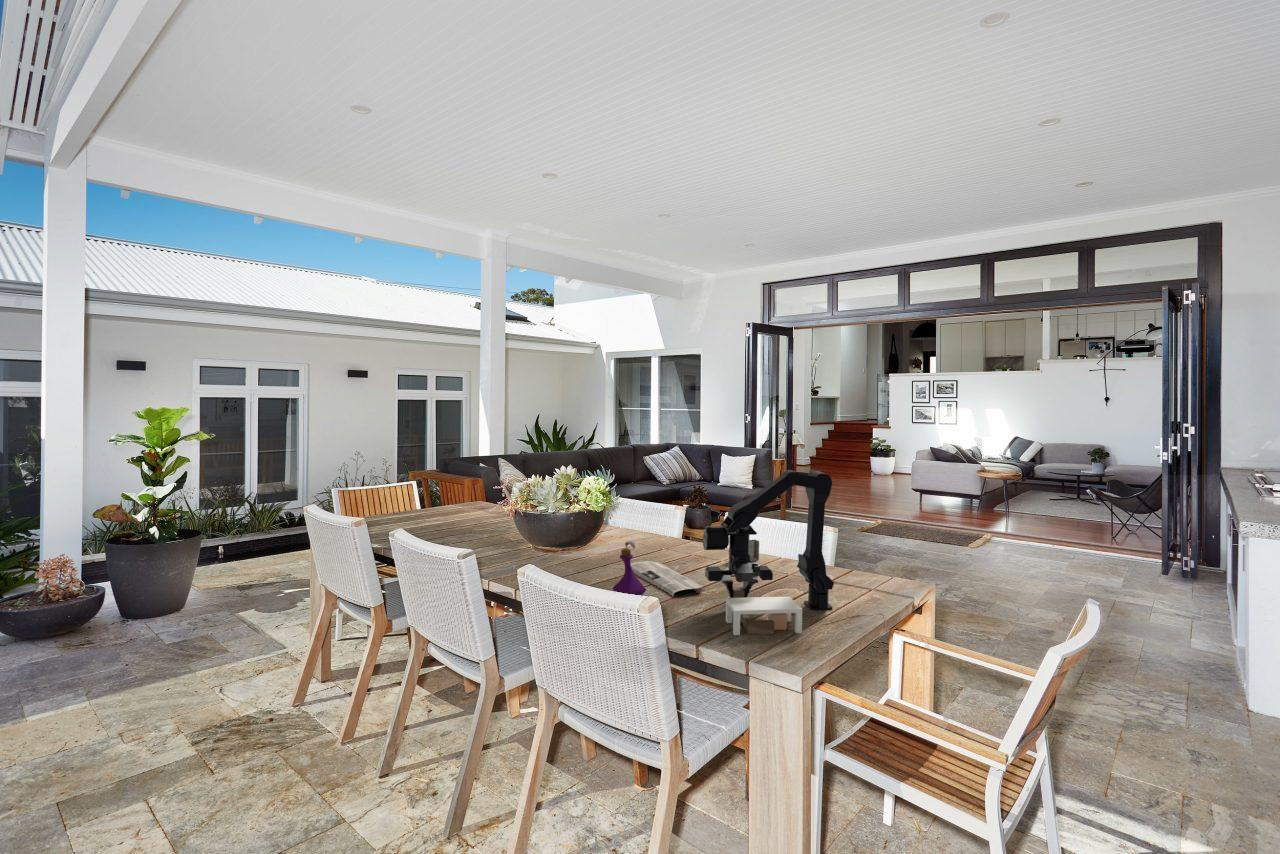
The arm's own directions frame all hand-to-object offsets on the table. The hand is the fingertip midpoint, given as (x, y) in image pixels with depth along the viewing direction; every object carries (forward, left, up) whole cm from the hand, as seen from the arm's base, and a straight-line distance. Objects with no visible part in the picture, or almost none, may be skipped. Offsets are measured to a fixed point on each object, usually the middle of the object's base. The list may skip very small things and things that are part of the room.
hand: (738, 602), depth 187 cm
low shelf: (+14, +3, -2) cm, 15 cm away
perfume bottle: (-11, -31, -2) cm, 33 cm away
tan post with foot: (+9, +2, -2) cm, 9 cm away
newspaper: (-30, -17, -3) cm, 34 cm away
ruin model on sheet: (-51, +15, -3) cm, 53 cm away
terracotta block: (+14, +7, -2) cm, 16 cm away
